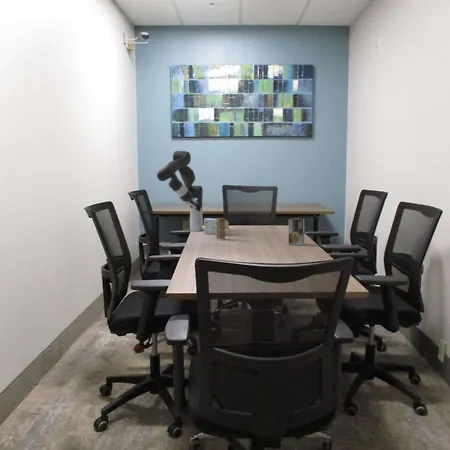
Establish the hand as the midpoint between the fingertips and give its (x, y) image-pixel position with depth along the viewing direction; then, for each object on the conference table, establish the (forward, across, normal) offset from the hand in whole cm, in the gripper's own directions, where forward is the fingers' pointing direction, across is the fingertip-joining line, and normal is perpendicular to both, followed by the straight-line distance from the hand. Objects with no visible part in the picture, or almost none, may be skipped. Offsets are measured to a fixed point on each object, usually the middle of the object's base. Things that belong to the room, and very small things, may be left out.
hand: (199, 210), depth 289 cm
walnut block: (+26, 0, +3) cm, 26 cm away
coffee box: (+45, -44, -15) cm, 65 cm away
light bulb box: (+33, +23, -3) cm, 40 cm away
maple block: (+35, +12, -6) cm, 37 cm away
